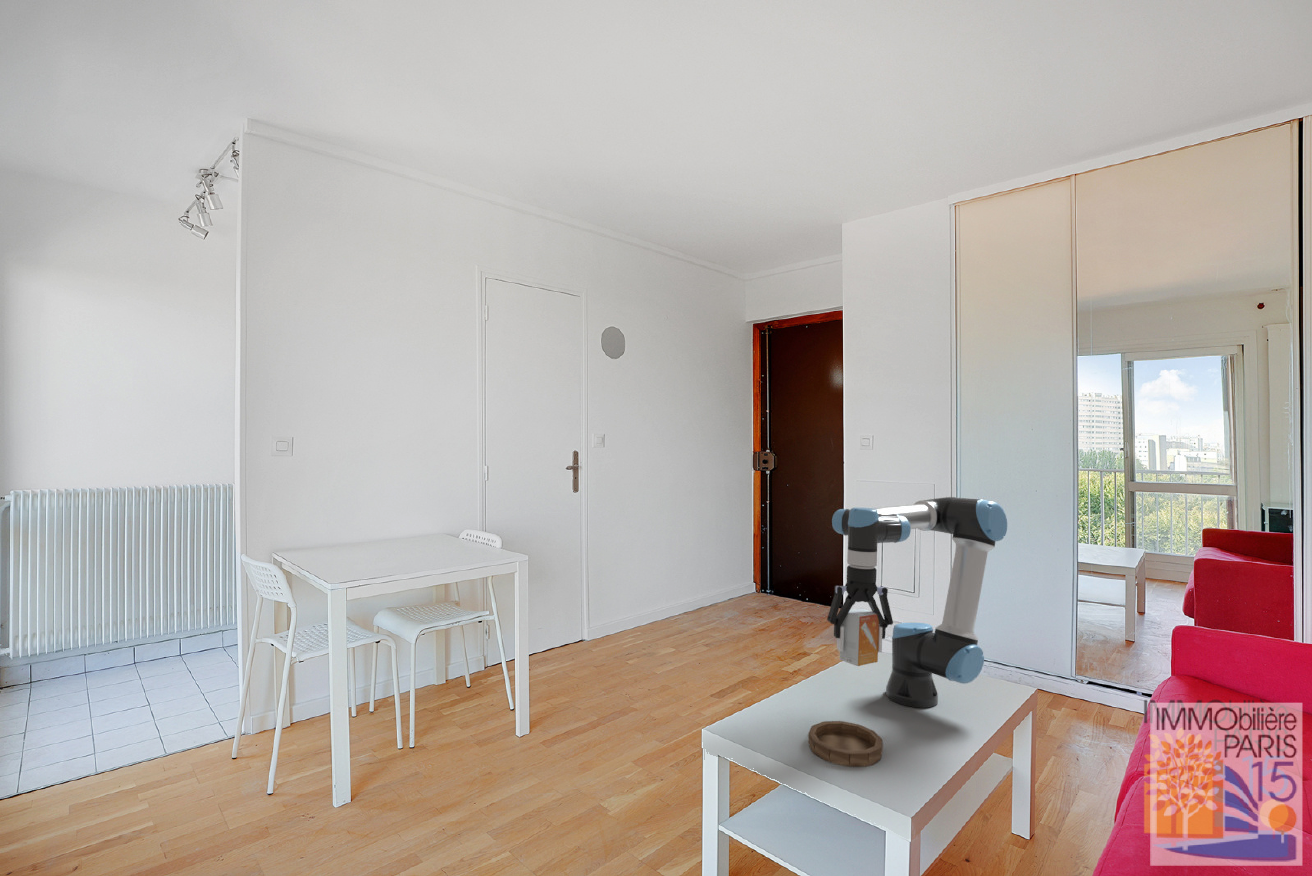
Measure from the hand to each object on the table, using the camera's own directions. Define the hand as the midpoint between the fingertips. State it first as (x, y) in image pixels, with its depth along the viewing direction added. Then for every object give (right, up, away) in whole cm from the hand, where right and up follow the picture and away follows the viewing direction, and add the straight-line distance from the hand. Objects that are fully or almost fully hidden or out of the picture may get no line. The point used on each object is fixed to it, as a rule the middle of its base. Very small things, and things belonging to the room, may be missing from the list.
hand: (859, 650), depth 167 cm
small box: (0, -3, 0) cm, 3 cm away
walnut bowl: (-5, -25, -3) cm, 25 cm away
